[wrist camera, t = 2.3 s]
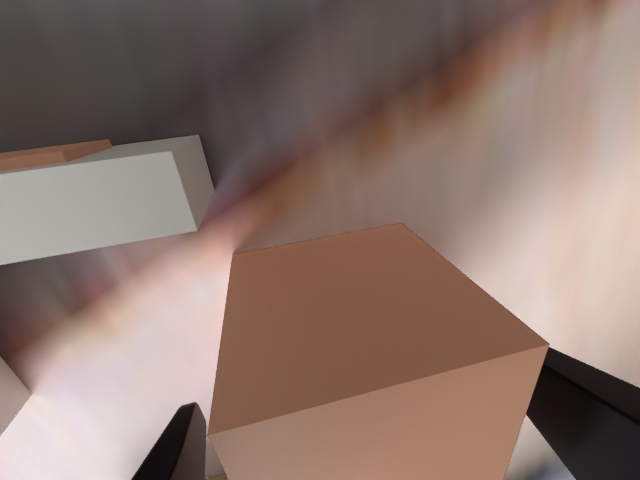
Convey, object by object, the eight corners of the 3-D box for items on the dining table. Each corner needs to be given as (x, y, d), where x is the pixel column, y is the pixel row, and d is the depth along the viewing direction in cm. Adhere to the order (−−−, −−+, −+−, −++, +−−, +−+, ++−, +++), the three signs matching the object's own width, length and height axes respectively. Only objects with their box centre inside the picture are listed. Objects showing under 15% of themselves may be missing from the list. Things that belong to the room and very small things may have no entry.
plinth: (196, 126, 8) (166, 139, 5) (214, 191, 9) (196, 230, 6) (-159, 171, 7) (-427, 217, 4) (-100, 240, 8) (-291, 315, 5)
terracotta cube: (400, 222, 11) (549, 344, 5) (398, 342, 13) (494, 504, 8) (232, 253, 10) (207, 435, 4) (266, 375, 12) (275, 579, 7)
